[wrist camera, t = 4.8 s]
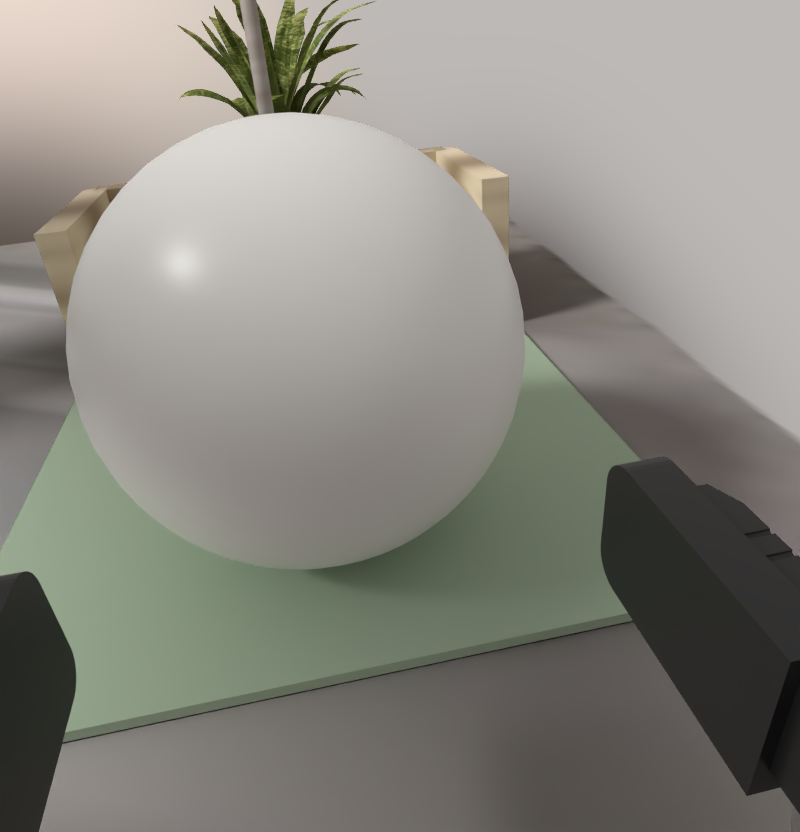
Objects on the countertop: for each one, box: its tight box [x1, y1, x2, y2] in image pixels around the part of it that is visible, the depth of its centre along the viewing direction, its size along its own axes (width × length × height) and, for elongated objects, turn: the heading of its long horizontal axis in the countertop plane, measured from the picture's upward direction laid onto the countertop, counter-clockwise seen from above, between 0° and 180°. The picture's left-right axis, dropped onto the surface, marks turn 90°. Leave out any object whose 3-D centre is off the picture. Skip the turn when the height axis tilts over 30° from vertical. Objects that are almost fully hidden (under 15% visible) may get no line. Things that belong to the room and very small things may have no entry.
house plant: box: [179, 0, 372, 117], centre depth 44 cm, size 14×14×16 cm
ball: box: [66, 112, 525, 570], centre depth 17 cm, size 11×11×11 cm
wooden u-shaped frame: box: [34, 0, 509, 327], centre depth 30 cm, size 11×19×20 cm, turn 101°
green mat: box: [0, 333, 642, 743], centre depth 27 cm, size 28×20×1 cm
